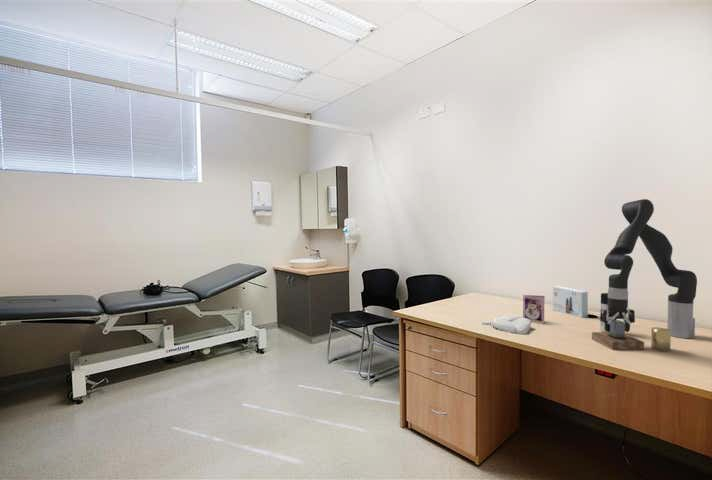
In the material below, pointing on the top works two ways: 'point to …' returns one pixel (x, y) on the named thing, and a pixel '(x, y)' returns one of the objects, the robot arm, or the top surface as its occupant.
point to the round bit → (661, 339)
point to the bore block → (618, 341)
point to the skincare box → (570, 301)
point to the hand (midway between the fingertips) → (617, 331)
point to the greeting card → (533, 308)
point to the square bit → (617, 329)
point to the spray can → (604, 306)
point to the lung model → (511, 324)
